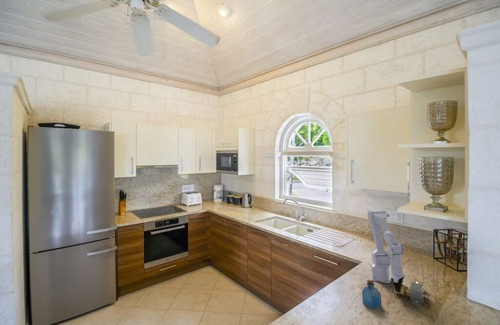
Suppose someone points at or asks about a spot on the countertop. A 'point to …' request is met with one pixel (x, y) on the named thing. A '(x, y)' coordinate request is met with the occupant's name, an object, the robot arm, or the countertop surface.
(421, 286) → the pillow block
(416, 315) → the countertop surface
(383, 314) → the countertop surface
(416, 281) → the cover
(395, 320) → the countertop surface
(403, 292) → the end cover
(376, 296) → the perfume bottle
